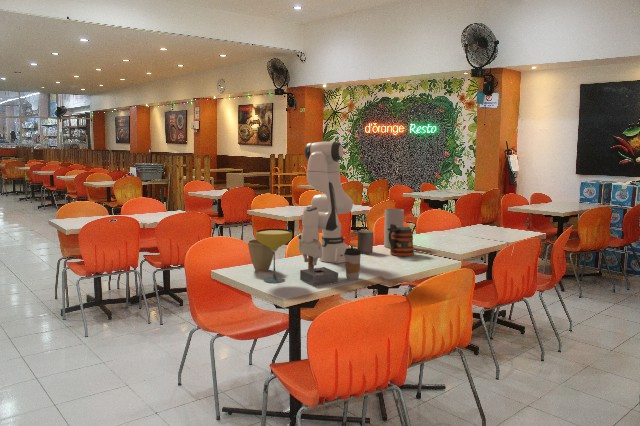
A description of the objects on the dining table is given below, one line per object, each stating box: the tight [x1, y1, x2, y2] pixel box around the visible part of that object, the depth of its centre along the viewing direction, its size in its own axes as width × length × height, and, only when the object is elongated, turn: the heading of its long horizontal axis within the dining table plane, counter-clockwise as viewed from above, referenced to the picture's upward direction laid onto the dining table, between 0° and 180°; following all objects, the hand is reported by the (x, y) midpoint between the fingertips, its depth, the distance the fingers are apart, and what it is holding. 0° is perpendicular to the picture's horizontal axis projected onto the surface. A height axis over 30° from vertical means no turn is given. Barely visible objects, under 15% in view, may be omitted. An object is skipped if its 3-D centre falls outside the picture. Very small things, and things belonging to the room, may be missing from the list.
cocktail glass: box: [255, 228, 293, 284], centre depth 266 cm, size 18×18×25 cm
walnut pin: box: [307, 255, 315, 269], centre depth 282 cm, size 3×3×10 cm
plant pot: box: [247, 238, 274, 273], centre depth 288 cm, size 15×15×16 cm
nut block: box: [299, 266, 339, 287], centre depth 266 cm, size 14×14×5 cm
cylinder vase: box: [383, 208, 405, 249], centre depth 354 cm, size 12×12×25 cm
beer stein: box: [388, 224, 415, 257], centre depth 329 cm, size 19×15×20 cm
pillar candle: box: [357, 229, 374, 255], centre depth 336 cm, size 10×10×15 cm
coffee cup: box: [344, 247, 362, 281], centre depth 271 cm, size 8×8×15 cm
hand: (310, 263), depth 281 cm, fingers open, 8 cm apart
